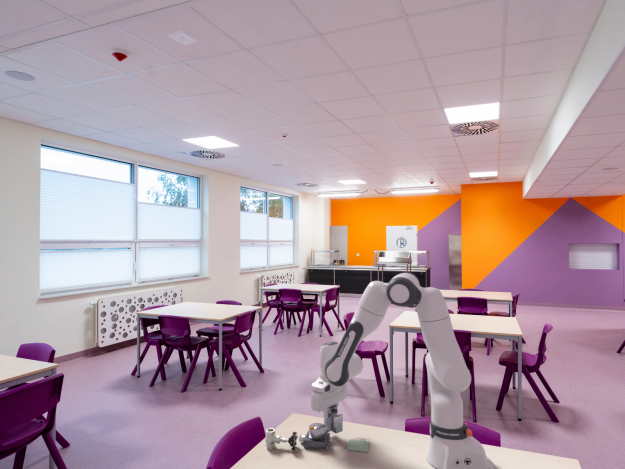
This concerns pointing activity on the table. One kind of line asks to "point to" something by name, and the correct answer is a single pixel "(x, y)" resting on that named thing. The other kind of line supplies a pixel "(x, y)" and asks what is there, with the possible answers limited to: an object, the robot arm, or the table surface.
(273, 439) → the valve
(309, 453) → the table surface
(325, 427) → the silver rounded housing
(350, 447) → the felt pad
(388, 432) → the table surface
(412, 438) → the table surface
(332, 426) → the grey tabbed block
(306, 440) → the block
